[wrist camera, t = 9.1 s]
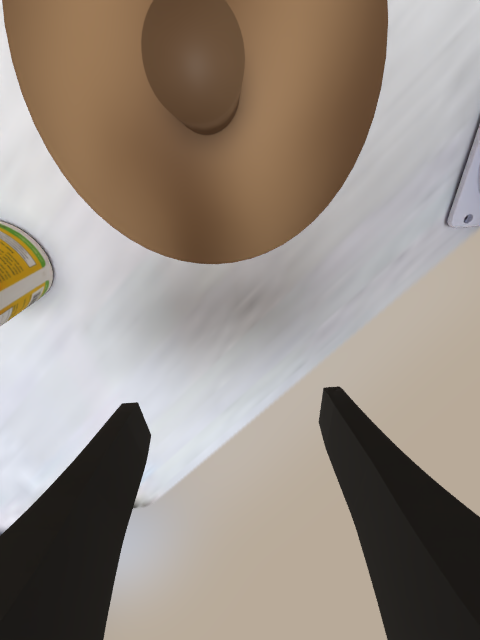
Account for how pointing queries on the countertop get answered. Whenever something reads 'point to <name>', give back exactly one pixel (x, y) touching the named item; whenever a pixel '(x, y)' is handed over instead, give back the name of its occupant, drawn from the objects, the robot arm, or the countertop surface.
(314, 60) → the lid
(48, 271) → the supplement bottle
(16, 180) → the countertop surface
